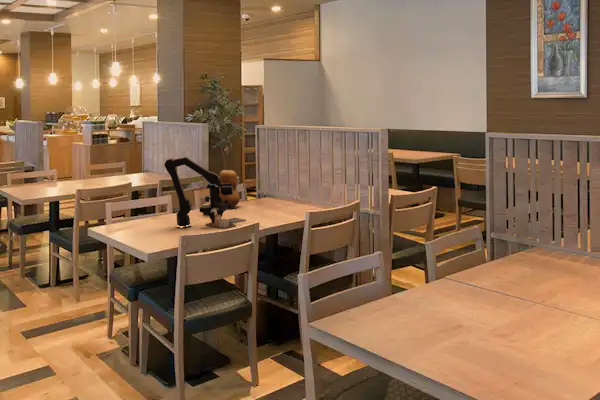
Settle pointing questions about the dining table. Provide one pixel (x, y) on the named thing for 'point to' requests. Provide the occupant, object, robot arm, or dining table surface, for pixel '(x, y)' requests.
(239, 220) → the slate pad
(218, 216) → the terracotta block
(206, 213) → the medicine bottle
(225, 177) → the butternut squash
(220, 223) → the grey block
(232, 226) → the caddy
